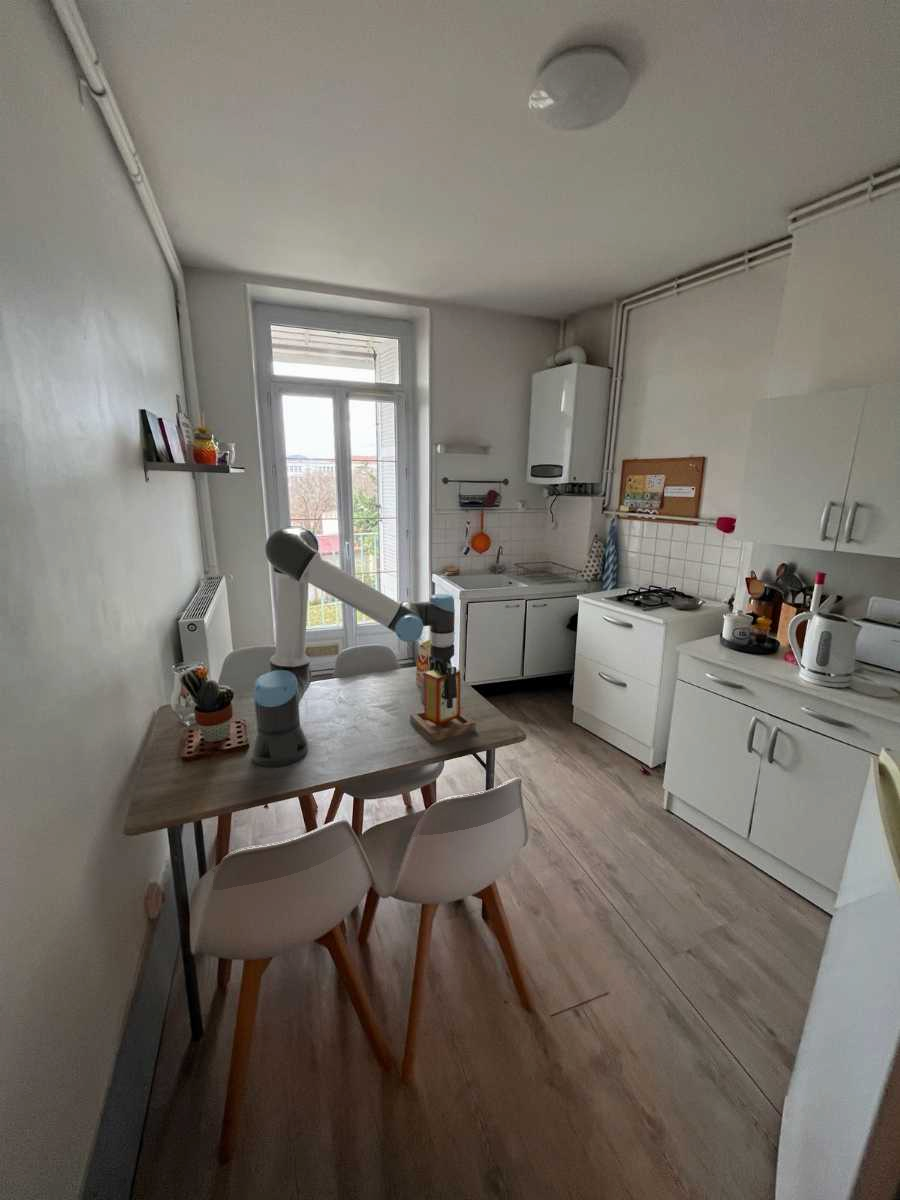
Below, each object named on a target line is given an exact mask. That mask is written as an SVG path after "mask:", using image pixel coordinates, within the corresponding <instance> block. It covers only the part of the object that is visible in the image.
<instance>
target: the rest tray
mask: <svg viewBox="0 0 900 1200" xmlns="http://www.w3.org/2000/svg"><path fill="white" fill-rule="evenodd" d="M409 721H410V722H409V723H410V724H411V725H412V726H413V727H414V728H415V729H416V730H417V731H418V732H419V733H420V735H422V736H423V737H424V738H425V739H426V740H427V741H428V742H429V743H431V744H432V743H435V742H440V741H443V740H446V739H450V738H454V737H458V736H461V735H465V734H468V733H472V732H476V721H475V720H473V719H472V718H471V717H470V716H468V715H467V714H465V713H464V712H463V711H462V710H460V717H458V718H455V719H453V720H450V721H448V722H445V723H443V724H440V725H438V726H437V725H436V724H434V723H432V722H430V721H428V720H427V719H425V710H422V711H419V712H414V713H411V714H409Z"/></svg>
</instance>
